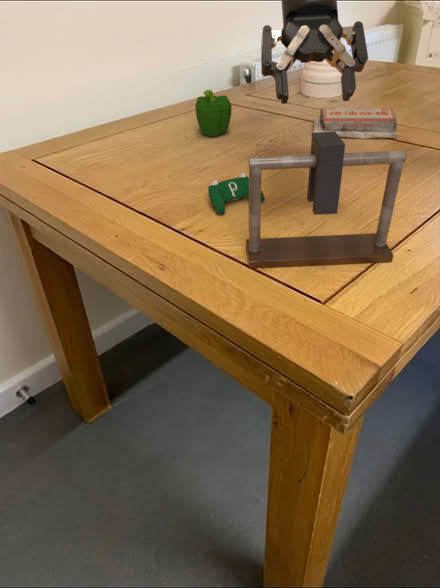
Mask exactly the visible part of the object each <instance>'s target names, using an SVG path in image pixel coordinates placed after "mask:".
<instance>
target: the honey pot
mask: <svg viewBox="0 0 440 588" xmlns="http://www.w3.org/2000/svg"><path fill="white" fill-rule="evenodd" d="M341 39H342V38H341ZM341 39H340V42H341V43H342V44H343V45H344V46H345V48H346V44H345V43H343V42H342V40H341ZM332 52H333V53H334V50H333V51H332ZM341 76H342V74H341V73H340V72H339V71H338V70H337V69H336V68H335V67H332V66H331V65H330V64H329V63H328V62H327V61H326V60H323V62H314V61H310V62H307V63H304V67H303V68H302V71H301V77H300V78H301V79H300V90H299V91H300V93H301V94H302V95H303V96H306V97H311V98H320V99H324V98H325V99H329V98H330V99H331V98H337V97H340V96H342V85H341Z"/></svg>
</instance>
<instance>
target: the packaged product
mask: <svg viewBox="0 0 440 588" xmlns="http://www.w3.org/2000/svg"><path fill="white" fill-rule="evenodd" d="M319 113H320V114H319V116H314V117H313V118H314V119H313V129H312V133H317V132H336V133H337V135H338V136H339V137H340V138H354V139H360V140H361V139H362V140H364V139H365V140H366V139H397V138H398V133H397V128H398V117H397V113H396V109H394V108H391V107H355V106H350V107H348V106H323V107H321V108H320V112H319Z"/></svg>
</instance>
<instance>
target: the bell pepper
mask: <svg viewBox="0 0 440 588" xmlns="http://www.w3.org/2000/svg"><path fill="white" fill-rule="evenodd" d="M203 95H204V96H198V97H197V98H196V102H195V105H194V107H195V115H196V116H195V117H196V120H197V124H198V127H199V130H200V131H201V133H202V135H203V136H207V137H212V138H213V137H216V136H220V135H222V134H226V133H227V131H228V129H229V126H230V123H231V118H232V104H231V101H230V99H229V98H228V96H227V95H219V96H216V95H214V91H213V90H212V89H205V90H204V91H203Z"/></svg>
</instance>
